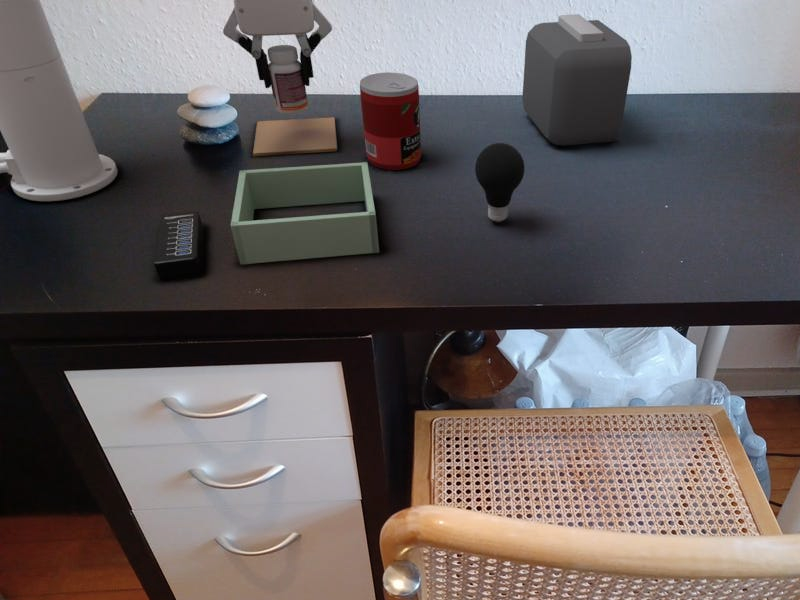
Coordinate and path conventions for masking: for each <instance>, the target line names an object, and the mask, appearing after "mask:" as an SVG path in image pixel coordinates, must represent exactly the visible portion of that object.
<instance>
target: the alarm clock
mask: <svg viewBox="0 0 800 600" xmlns="http://www.w3.org/2000/svg"><path fill="white" fill-rule="evenodd" d="M524 49H525V50H524V65H523V66H524V68H523V80H522V81H523V83H522V99H521V100H522V105H523V110H524V112H525V113H526V114H527V116H528V117H529V118H530V120H531V121H532V123H534V125H535V126H536V127H537V128H538V130H539V131H540V132H541V133H542V135H543V136H544V138H545V139H547V141H549V143H551V144H552V145H555V146H575V145H586V144H598V143H608V142H616V141H617V140H618V138H620V134H621V130H622V126H623V120H624V114H625V107H626V102H627V95H628V89H629V83H630V77H631V72H632V56H633V55H632V50H631V46H630V44H629V42H628V40H627V39H625V38H624V37H622V36H621V35H619V34H618V33H617V32H615V30H613V29H611V28H610V27H609V26H607V25H606V24H605V23H603V22H601V21H600V19H592V20H591V19H590V20H589V19H586V18H584V17H583V16H582V15H581V14H578V13H577V14H576V13H575V14H559V15H558V19H557V21H551V22H540V23H537V24H534V26H533V27H532V28H531V29H530V30H529V31H528V32H527V36H526V39H525V48H524Z"/></svg>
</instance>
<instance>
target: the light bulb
mask: <svg viewBox="0 0 800 600" xmlns="http://www.w3.org/2000/svg"><path fill="white" fill-rule="evenodd" d="M475 161H476V162H475V165H474V173H475V177H476V180H477V182H478V183H479V185H480V186H481V188H482V189H483V190H484V194H485V199H486V202H487V206H488V208H487V216H488V218H489V219H490V220H491V221H492V222H494V223H497V224H498V223H501V222H503V221H504V220H506V219H507V218H508V214H509V205H510V202H511V200H512V196H513V193H514V192H515V190H516V189H517V188H518V187H519V185H520V184H521V182H522V180H523V179H524V175H525V162H524V159H523V157H522V154H521V153H520V152H519V150H517V148H515V147H514V146H513V145H510V144H509V143H505V142H496V143H492V144H490V145H488V146H486V147H485V148H483V149H482V151H481V152H480V153H479V154H478V155H477V158H476V160H475Z"/></svg>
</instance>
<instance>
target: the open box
mask: <svg viewBox="0 0 800 600" xmlns="http://www.w3.org/2000/svg"><path fill="white" fill-rule="evenodd" d="M372 189H373V188H372V184H371V176H370V170H369V164H368V161H364V162H363V161H361V162H351V163H336V164H333V163H332V164H320V165H319V164H318V165H305V166H304V165H303V166H290V167H274V168H273V167H272V168H257V169H241V170H239V172H238V179H237V185H236V190H235V197H234V202H233V207H232V214H231V220H230V229H231V233H232V237H233V241H234V244H235V248H236V249H235V250H236V252H237V256H238V260H239V263H240V265H251V264H261V263H274V262H286V261H297V260H307V259H309V260H310V259H320V258H330V257H343V256H354V255H366V254H377V253H378V254H379V253H380V246H379V245H380V244H379V236H378V235H379V234H378V224H377V215H376V208H375V203H374V196H373V190H372ZM357 202H364V203H365V211H360V212H347V213H334V214H323V215H322V214H320V215H307V216H296V217H283V218H281V217H280V218H268V219H257V220H254V214H255V210H262V209H275V208H288V207H290V208H291V207H301V206H315V205H329V204H330V205H331V204H341V203H342V204H343V203H357Z"/></svg>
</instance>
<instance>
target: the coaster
mask: <svg viewBox="0 0 800 600" xmlns="http://www.w3.org/2000/svg"><path fill="white" fill-rule="evenodd" d="M336 128H337V127H336V118H335V117H332V116H331V117H315V118H312V117H311V118H297V119H296V118H294V119H276V120H264V121H263V120H259V121H257V122H256V129H255V136H254V143H253V151H252V156H253V157H265V156H266V157H267V156H283V155H298V154H316V153H329V152H330V153H331V152H333V153H334V152H338V144H337V143H338V142H337V131H336V130H337V129H336Z"/></svg>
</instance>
